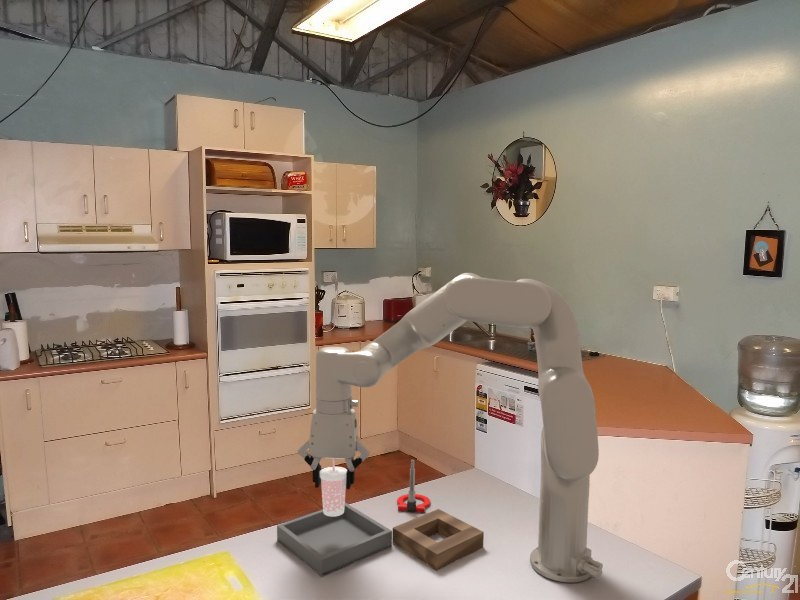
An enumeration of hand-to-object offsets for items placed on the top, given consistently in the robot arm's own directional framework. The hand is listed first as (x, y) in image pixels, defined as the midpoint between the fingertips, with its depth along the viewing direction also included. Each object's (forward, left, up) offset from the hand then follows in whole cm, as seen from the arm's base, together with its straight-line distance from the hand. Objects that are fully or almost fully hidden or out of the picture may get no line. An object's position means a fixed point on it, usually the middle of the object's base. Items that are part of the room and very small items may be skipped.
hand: (333, 485), depth 126 cm
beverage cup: (0, 0, -6) cm, 6 cm away
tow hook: (+3, -26, -14) cm, 29 cm away
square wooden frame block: (-15, -17, -13) cm, 26 cm away
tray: (0, 0, -13) cm, 13 cm away
